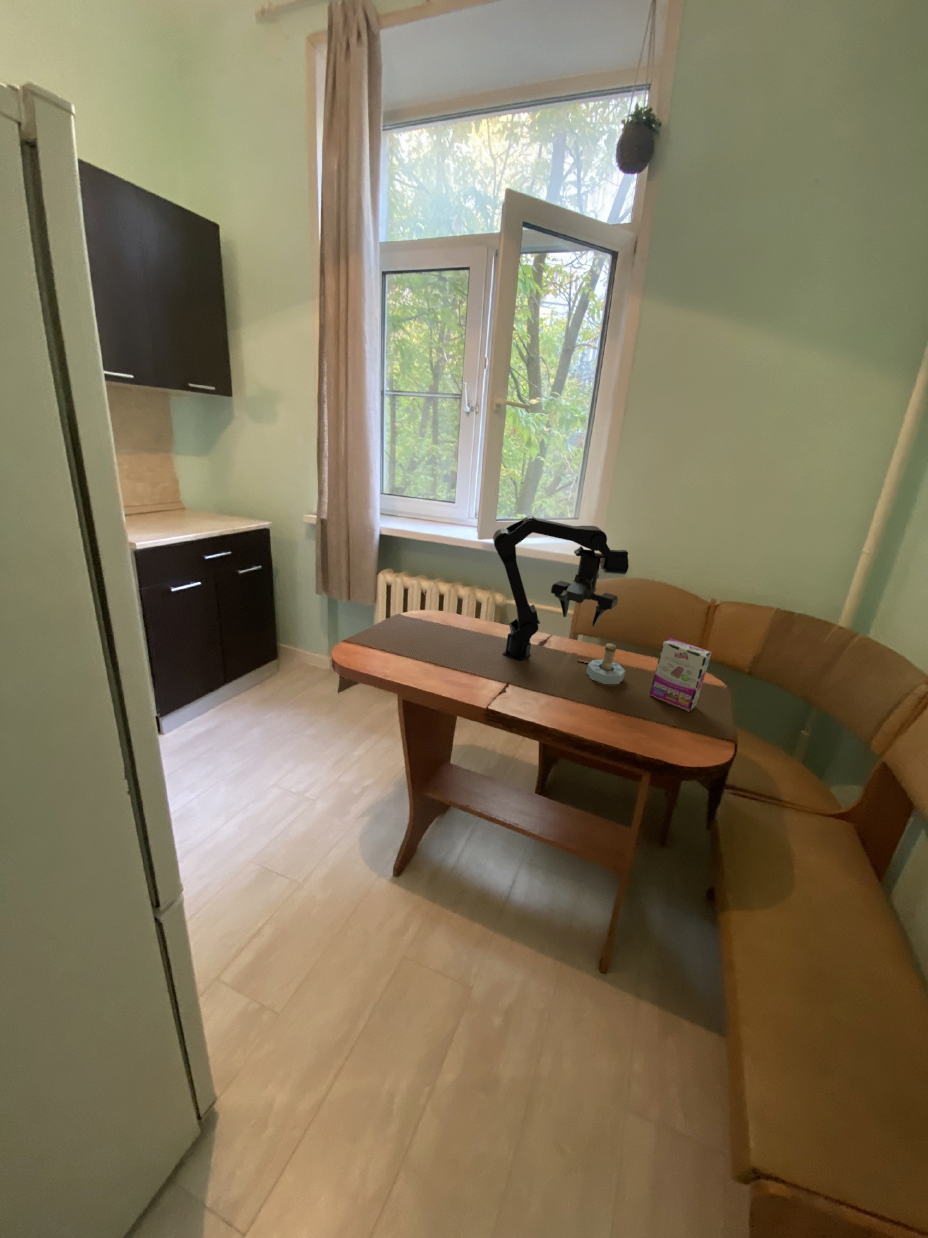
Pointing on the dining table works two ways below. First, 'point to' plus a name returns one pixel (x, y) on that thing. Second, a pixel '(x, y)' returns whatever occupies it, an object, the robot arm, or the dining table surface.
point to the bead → (605, 672)
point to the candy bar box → (680, 673)
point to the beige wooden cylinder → (608, 657)
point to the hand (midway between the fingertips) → (578, 621)
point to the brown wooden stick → (583, 661)
